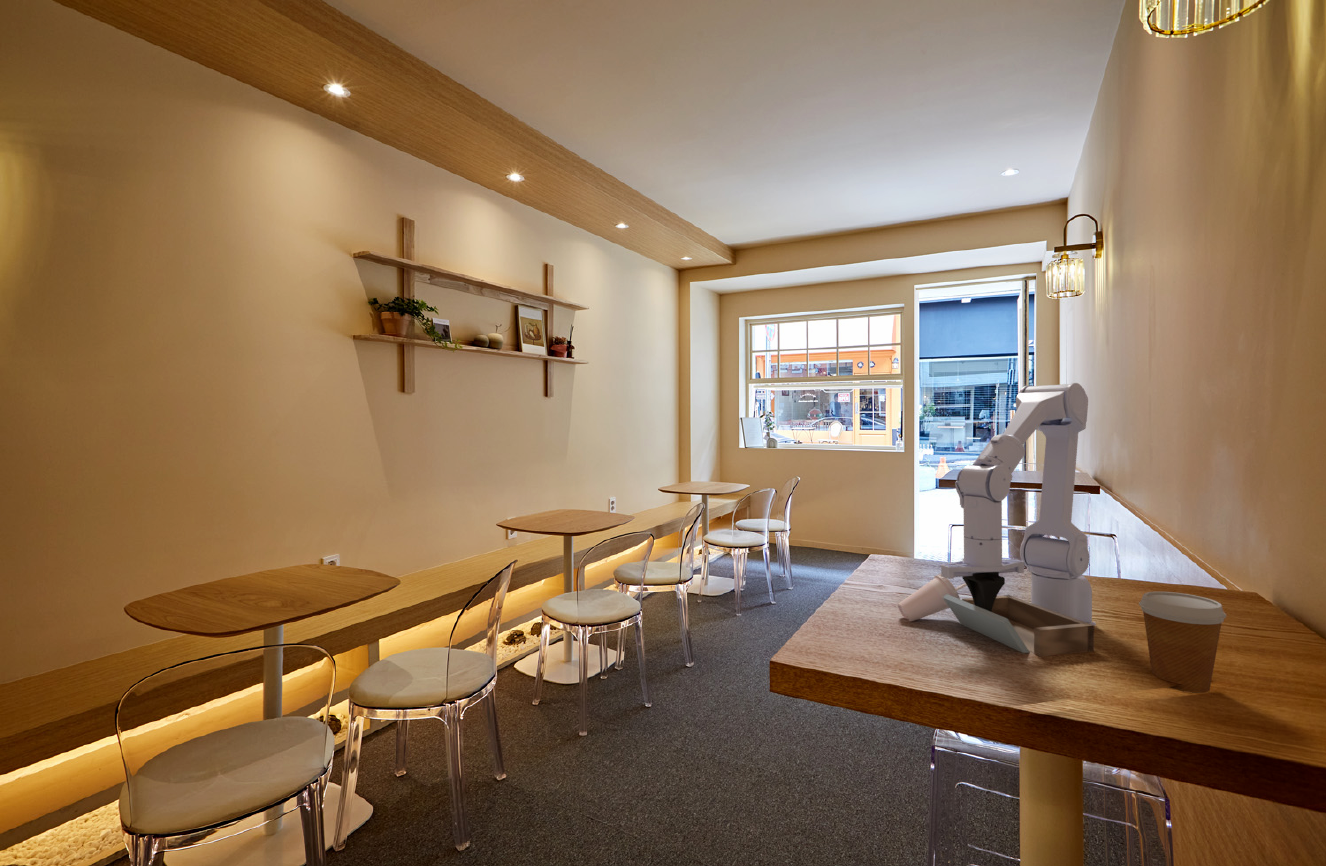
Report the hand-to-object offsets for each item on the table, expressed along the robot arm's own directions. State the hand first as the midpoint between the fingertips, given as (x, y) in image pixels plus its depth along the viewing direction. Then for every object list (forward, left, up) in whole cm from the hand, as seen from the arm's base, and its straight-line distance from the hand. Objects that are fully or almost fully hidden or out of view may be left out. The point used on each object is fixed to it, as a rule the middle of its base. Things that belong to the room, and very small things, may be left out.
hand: (983, 617), depth 105 cm
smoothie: (+7, -12, -2) cm, 14 cm away
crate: (-8, 0, -5) cm, 9 cm away
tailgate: (-2, 0, -4) cm, 4 cm away
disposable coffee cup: (-16, +20, -5) cm, 26 cm away
